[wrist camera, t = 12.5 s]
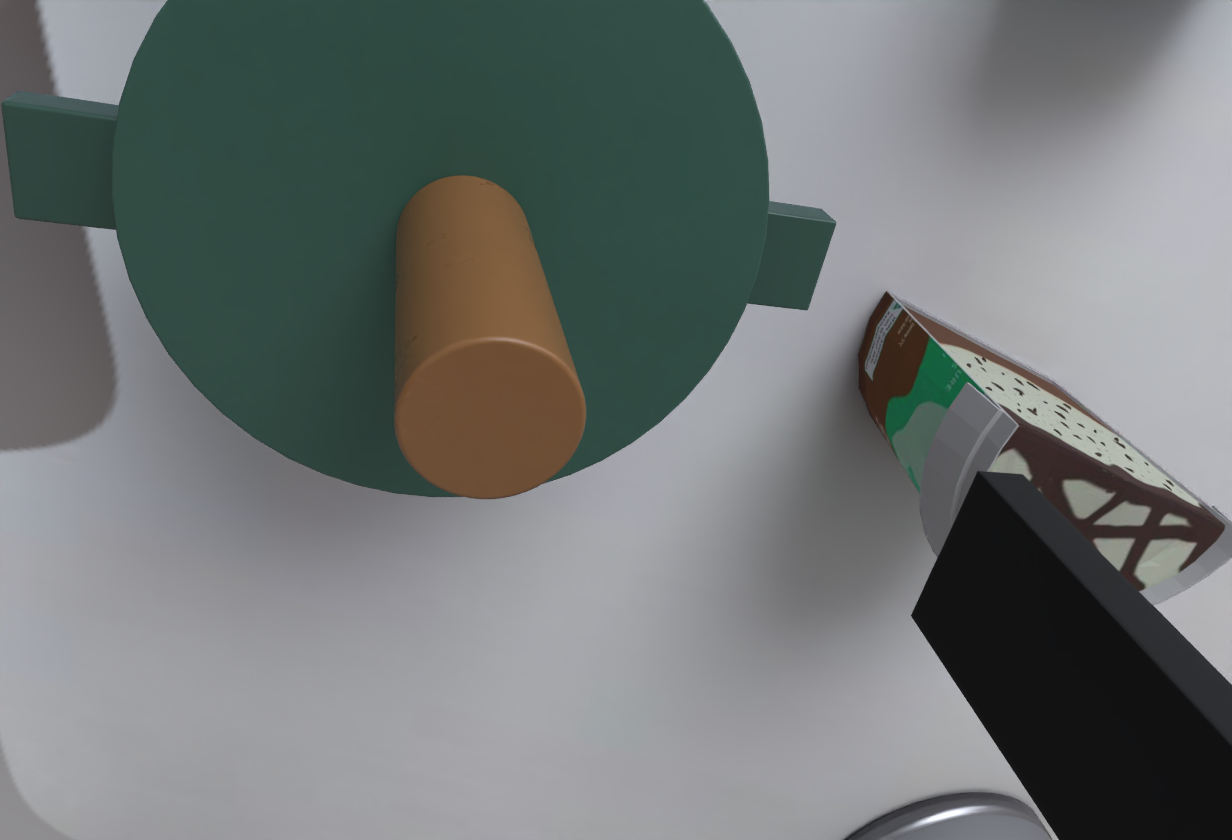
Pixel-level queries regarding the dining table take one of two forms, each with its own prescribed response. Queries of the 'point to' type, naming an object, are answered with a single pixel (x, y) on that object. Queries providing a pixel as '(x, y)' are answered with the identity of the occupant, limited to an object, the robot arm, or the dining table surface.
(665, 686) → the dining table surface
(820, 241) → the canister
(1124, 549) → the food container
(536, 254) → the canister lid
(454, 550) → the dining table surface
